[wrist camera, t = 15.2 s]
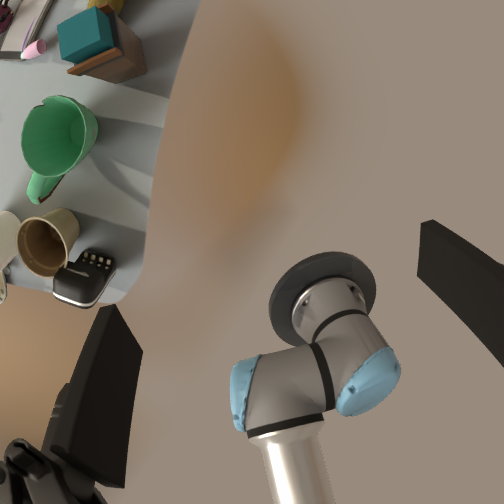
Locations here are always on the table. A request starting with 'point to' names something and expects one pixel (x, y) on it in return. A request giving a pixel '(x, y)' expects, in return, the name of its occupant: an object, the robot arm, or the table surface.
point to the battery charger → (84, 279)
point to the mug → (55, 142)
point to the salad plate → (3, 284)
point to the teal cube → (85, 36)
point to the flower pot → (47, 241)
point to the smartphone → (23, 28)
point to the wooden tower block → (123, 59)
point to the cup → (8, 237)
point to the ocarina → (117, 3)
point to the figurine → (5, 16)
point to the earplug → (33, 47)
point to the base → (107, 55)
